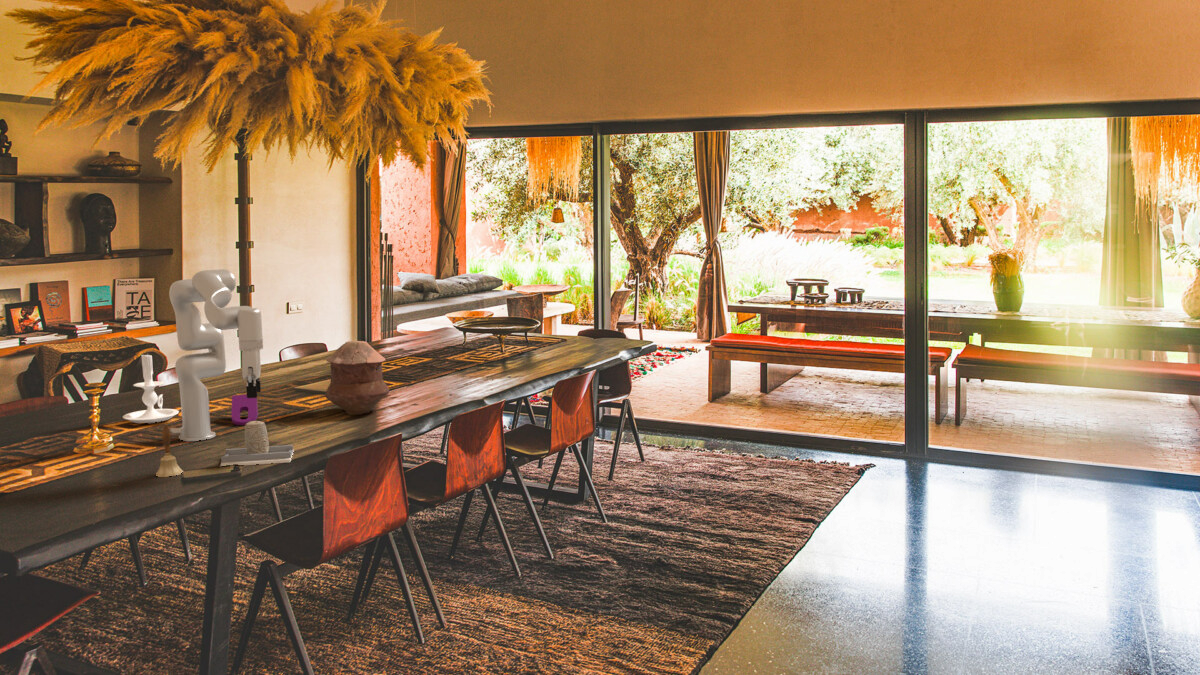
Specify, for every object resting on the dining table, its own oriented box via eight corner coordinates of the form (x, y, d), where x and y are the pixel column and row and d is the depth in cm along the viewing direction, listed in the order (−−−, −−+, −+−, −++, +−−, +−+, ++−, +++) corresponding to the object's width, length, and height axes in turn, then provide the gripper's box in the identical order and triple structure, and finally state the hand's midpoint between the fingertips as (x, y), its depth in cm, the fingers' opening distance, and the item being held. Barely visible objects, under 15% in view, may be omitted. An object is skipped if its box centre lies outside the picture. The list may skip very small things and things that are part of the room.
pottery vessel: (315, 417, 382) (311, 345, 378) (342, 405, 407) (339, 336, 403) (375, 419, 378) (371, 346, 374) (398, 406, 403) (396, 337, 399)
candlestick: (189, 413, 394) (184, 347, 390) (170, 426, 370) (164, 356, 366) (137, 415, 391) (132, 349, 388) (115, 428, 367) (109, 358, 363)
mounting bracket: (257, 437, 375) (258, 410, 389) (256, 421, 371) (256, 394, 385) (232, 439, 372) (233, 412, 386) (230, 422, 368) (232, 395, 382)
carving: (245, 455, 320) (243, 421, 318) (268, 453, 323) (266, 419, 321) (246, 460, 314) (244, 425, 312) (270, 457, 317) (268, 422, 316)
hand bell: (149, 476, 300) (145, 427, 298) (169, 469, 307) (166, 422, 305) (169, 478, 297) (165, 429, 295) (189, 471, 304) (185, 423, 302)
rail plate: (220, 467, 309) (220, 458, 309) (227, 456, 323) (226, 448, 323) (290, 462, 314) (289, 453, 314) (293, 451, 328) (293, 443, 328)
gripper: (242, 341, 321) (245, 390, 324) (235, 349, 305) (238, 400, 307) (265, 341, 323) (268, 389, 325) (259, 348, 306) (262, 399, 309)
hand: (254, 395), depth 316 cm, fingers open, 9 cm apart
